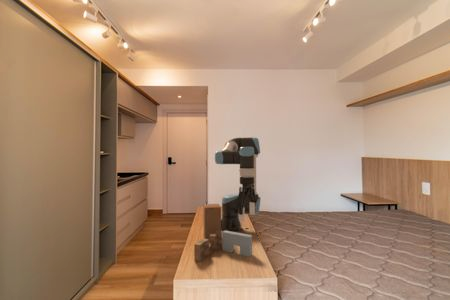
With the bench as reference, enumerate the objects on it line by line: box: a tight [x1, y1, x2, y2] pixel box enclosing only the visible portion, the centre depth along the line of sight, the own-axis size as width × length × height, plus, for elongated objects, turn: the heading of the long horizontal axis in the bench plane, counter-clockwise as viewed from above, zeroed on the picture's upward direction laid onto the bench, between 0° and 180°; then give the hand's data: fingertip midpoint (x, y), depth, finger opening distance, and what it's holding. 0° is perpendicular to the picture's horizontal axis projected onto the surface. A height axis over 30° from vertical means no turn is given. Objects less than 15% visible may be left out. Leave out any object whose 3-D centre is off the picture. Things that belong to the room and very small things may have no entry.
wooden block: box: [203, 203, 222, 239], centre depth 144 cm, size 10×10×20 cm
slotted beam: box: [193, 230, 223, 262], centre depth 122 cm, size 22×3×8 cm, turn 151°
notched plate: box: [221, 230, 253, 258], centre depth 122 cm, size 3×16×10 cm, turn 61°
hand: (247, 217), depth 119 cm, fingers open, 13 cm apart
